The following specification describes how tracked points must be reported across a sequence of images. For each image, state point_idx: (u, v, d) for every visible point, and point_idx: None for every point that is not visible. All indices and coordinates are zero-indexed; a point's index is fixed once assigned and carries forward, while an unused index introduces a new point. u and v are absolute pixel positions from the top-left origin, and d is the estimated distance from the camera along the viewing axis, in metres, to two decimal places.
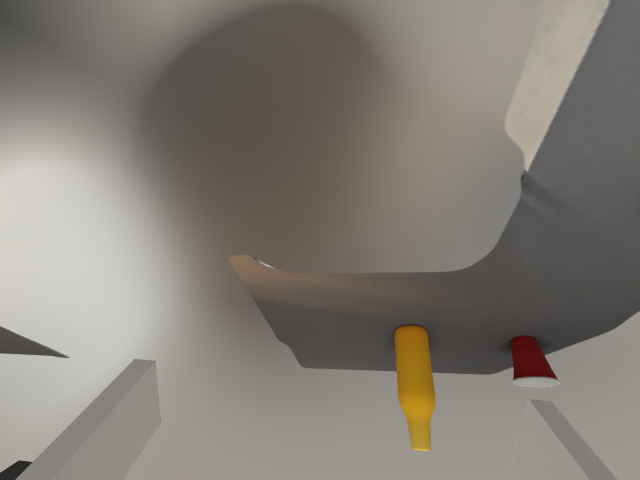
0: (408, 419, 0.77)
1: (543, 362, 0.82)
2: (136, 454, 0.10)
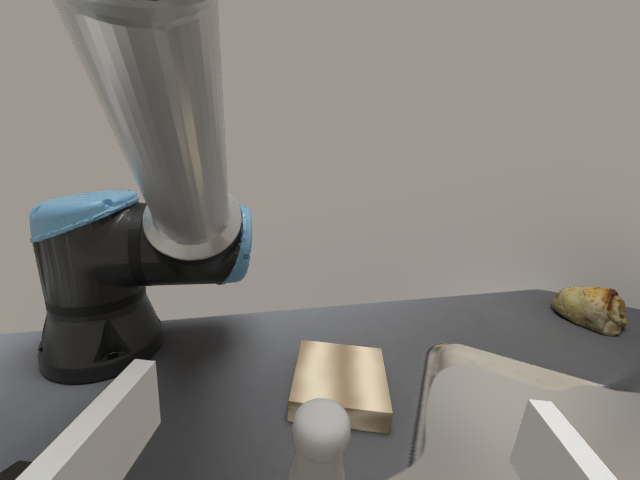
0: None
1: None
2: (136, 454, 0.10)
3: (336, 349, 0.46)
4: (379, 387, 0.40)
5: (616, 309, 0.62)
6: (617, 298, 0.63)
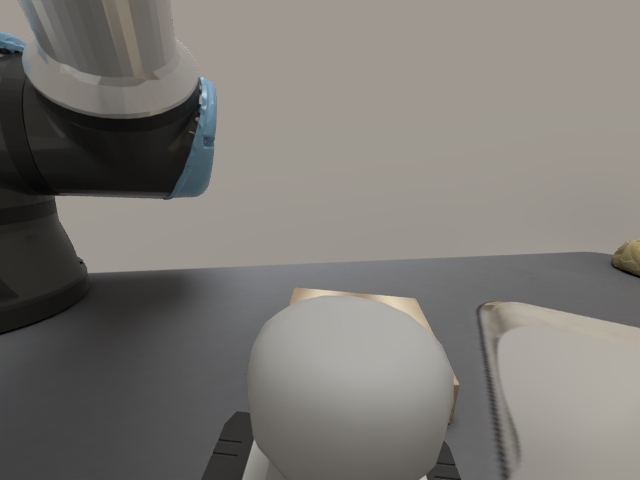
0: None
1: None
2: None
3: None
4: None
5: None
6: None
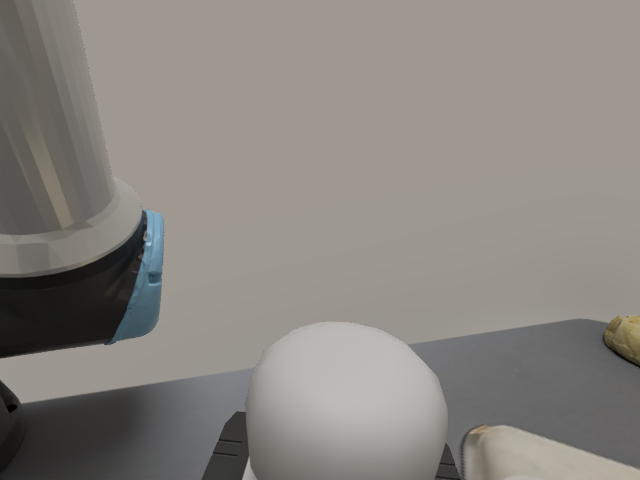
0: None
1: None
2: None
3: None
4: None
5: None
6: None
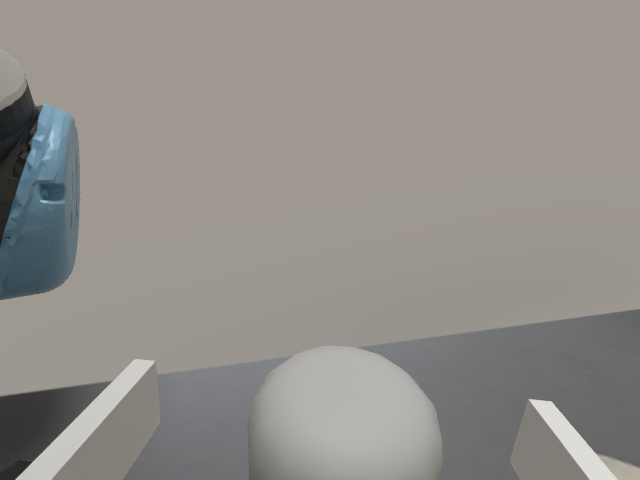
0: None
1: None
2: (136, 454, 0.10)
3: None
4: None
5: None
6: None
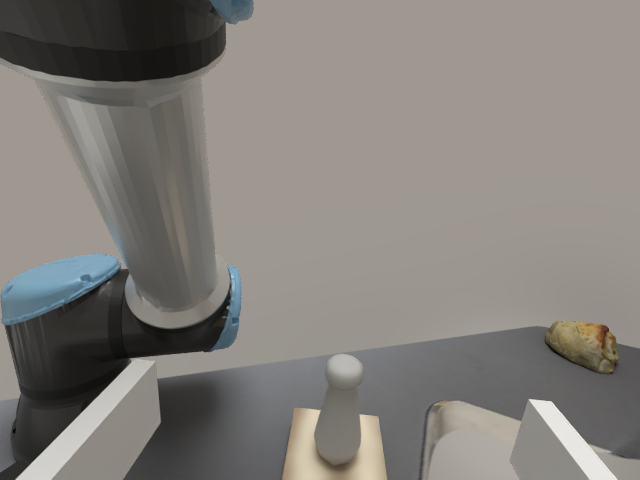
0: None
1: None
2: (136, 454, 0.10)
3: None
4: (376, 470, 0.37)
5: (609, 347, 0.63)
6: (609, 335, 0.65)
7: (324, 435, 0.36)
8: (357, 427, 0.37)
